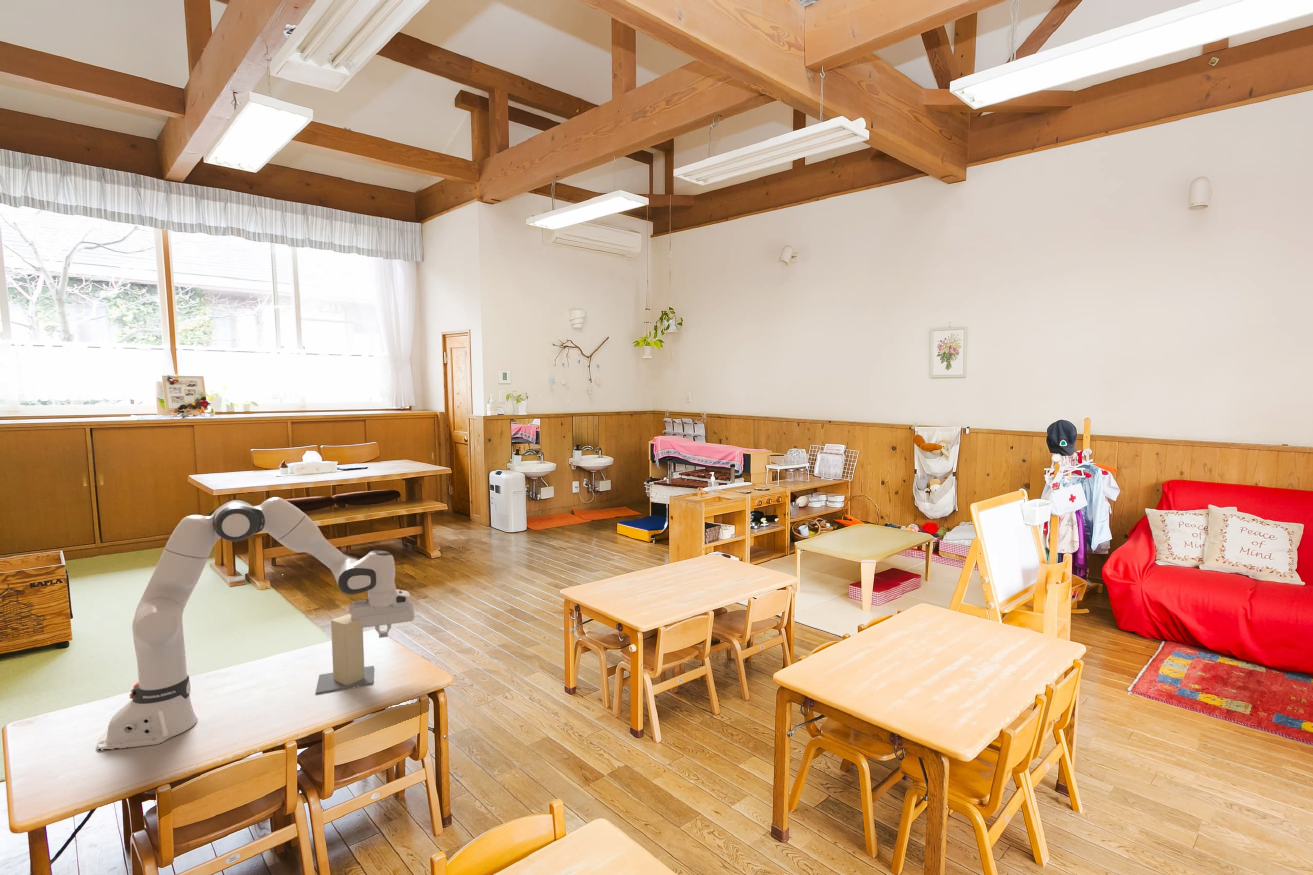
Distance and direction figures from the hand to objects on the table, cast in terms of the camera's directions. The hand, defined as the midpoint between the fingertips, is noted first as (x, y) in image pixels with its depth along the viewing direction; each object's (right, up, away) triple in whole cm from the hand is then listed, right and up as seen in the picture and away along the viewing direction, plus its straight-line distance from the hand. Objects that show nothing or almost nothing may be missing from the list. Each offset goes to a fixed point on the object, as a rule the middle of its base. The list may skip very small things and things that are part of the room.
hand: (383, 636), depth 217 cm
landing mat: (-12, -14, -3) cm, 18 cm away
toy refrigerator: (-10, -14, -3) cm, 17 cm away
